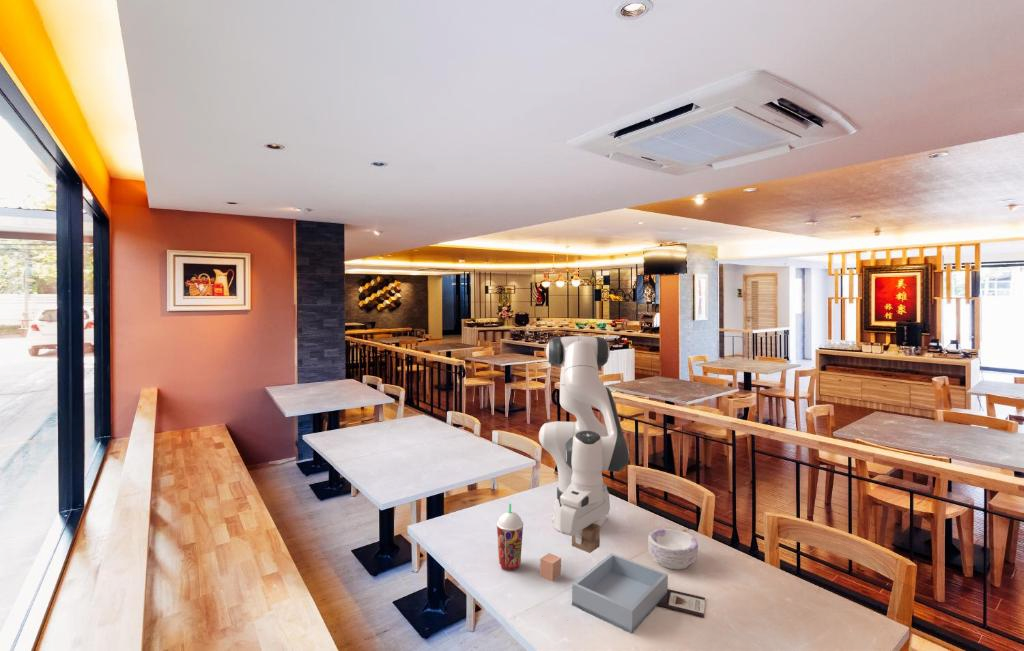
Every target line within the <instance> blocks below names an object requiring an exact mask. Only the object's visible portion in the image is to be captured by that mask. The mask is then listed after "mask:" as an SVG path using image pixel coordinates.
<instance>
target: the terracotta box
mask: <svg viewBox="0 0 1024 651" xmlns="http://www.w3.org/2000/svg"><path fill="white" fill-rule="evenodd" d="M539 564H540V565H539V568H540V569H539V572H540V574H539V575H540V577H541V578H544V579H546V580H548V581H550V582H554V581H556V580H557V579H558V578H560V577H561V576H562V557H560V556H558V555H555V554H553V553H551V552H548V553H547V554H546V555H544V556H542V557H541V558H540V563H539Z"/></svg>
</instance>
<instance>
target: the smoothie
mask: <svg viewBox="0 0 1024 651" xmlns="http://www.w3.org/2000/svg"><path fill="white" fill-rule="evenodd" d="M523 530H524V522H523V521H522V518H521V517H520V515H519V514H518V513H516V512H514V511H512V503H508V511H506V512H504V513H503V514H501V515H500V517H499V519H498V520H497V521H496V534H497V552H498V563H499V565H500V567H501V569H503V570H504V571H505V570H506V571H514V570H517V569H518V568H519V566H520V564H521V560H522V558H521V557H522V544H523V534H524V533H523V532H524V531H523Z"/></svg>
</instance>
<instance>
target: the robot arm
mask: <svg viewBox="0 0 1024 651" xmlns="http://www.w3.org/2000/svg"><path fill="white" fill-rule="evenodd" d="M610 354H611V350H610V346H609V344H608V341H607V340H606V338H604V337H600V336H587V335H585V336H584V335H573V336H571V335H570V336H562V337H561V336H554V337H551V338H550V339H549V340H548V343H547V344H546V347H545V357H546V359H547V362H548V364H550V365H551V366H553V367H558V368H559V367H561V368H560V374H559V404H560V406H561V408H562V409H563V410H565V411H566V412H567V413H569V414H572V415H573V416H574V417H575V418H576V421H560V420H556V421H549V422H545V423H544V424H542V426H540V429H539V432H538V440H539V444H540V445H541V446H542V448H543V449H544V450H545V451H546V452H548V453H549V454H550V455H551V457H552V458H553V460H554V462H555V465H556V468H557V469H556V470H557V479H558V483H557V484H558V486H557V488H556V499H555V502H554V506H553V507H554V509H553V515H552V516H550V517H551V519H550V520H551V521H552V523H553V524H552V527H553V528H554V529H555V530H556V531H557V532H559V533H563V534H565V535H568V536H570V537H572V536H573V535H575V537H576V539H575V541H576V543H577V544H582V543H583V542H584V537H583V536H582V535H581V533H582V530H583V529H584V528H586V527H587V526H589V525H591V524H592V523H594V524H597V525H599V526H600V528H601V527H602V526H603V525H604V523H605V522H606V521H607V519H608V516H607V515H609V512H610V509H611V508H610V507H611V506H610V505H611V504H610V493H609V491H608V486H607V484H606V483H605V482H604V478H603V474H602V473H603V471H609V472H617V473H619V472H621V471H623V469H625V468H626V467H627V466H628V464H629V462H630V451H629V447H628V444H627V441H626V439H625V435H624V432H623V429H622V425H621V422H620V418H619V414H618V410H617V406H616V403H615V400H614V396H613V395H612V392H611V390H610V388H609V387H607V386H605V385H604V384H603V382H602V380H601V378H600V376H599V368H600V367H603V366H605V365H606V364H607V363H608V360H609V358H610ZM593 407H594V408H596V409H598V410H599V411H600V413H601V414H602V415H603V420H604V424H603V423H602V422H601V421H600V420H598V418H597V417H596V415H595V414H594V411H593V409H592V408H593Z"/></svg>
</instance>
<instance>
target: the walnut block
mask: <svg viewBox="0 0 1024 651" xmlns="http://www.w3.org/2000/svg"><path fill="white" fill-rule="evenodd" d="M581 535H582V536H583V537H584V542H583V543H582V544H577V543H576V541H575V539H576V537H575V535H573V536H571V547H574V548H576V549H579V550H581V551H582V552H583V551H584V552H585V553H588V554H591V553H593V552H594V551H596V550H597V549H599V547H600V545H601V543H600V542H601V527H600V526H599V525H597V524H594V523H592V524H591V525H589V526H587V527H586V528H584V529H583V530H582V533H581Z"/></svg>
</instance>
